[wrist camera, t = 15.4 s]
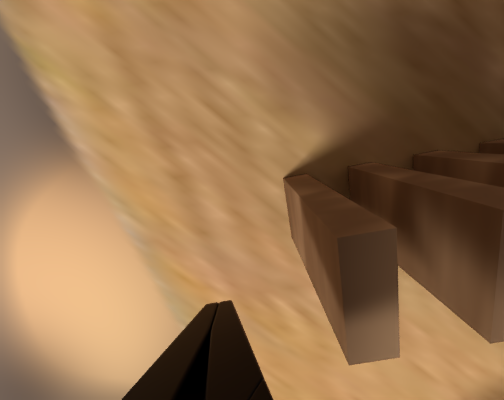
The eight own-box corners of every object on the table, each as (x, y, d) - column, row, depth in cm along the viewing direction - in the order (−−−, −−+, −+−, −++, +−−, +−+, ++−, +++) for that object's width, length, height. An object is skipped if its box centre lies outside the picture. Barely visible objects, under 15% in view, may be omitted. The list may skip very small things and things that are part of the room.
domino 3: (437, 150, 16) (739, 168, 6) (436, 212, 17) (691, 312, 7) (413, 154, 16) (675, 179, 6) (413, 216, 17) (635, 320, 7)
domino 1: (306, 173, 16) (396, 227, 6) (313, 233, 17) (399, 357, 7) (283, 178, 16) (336, 237, 6) (291, 237, 17) (349, 365, 7)
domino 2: (371, 162, 16) (565, 199, 6) (374, 222, 17) (542, 335, 7) (347, 166, 16) (503, 209, 6) (352, 226, 17) (490, 343, 7)
